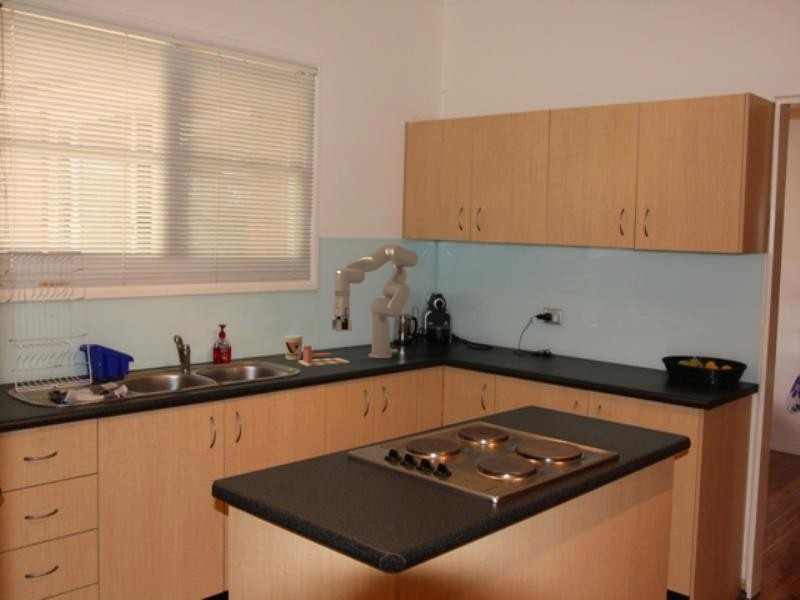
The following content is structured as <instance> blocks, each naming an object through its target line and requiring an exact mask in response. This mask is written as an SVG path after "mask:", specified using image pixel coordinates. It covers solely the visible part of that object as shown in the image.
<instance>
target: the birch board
mask: <svg viewBox="0 0 800 600" xmlns="http://www.w3.org/2000/svg"><path fill="white" fill-rule="evenodd" d="M297 363H299V364H301V365H303V366H306V367H317V366H330V365H331V364H335V365H346V364H347V363H349V364H350V361H349V360H347V359H343V358H341V357H332V358H330V357H329V358H317V359H313V358H312V363H306V362H304V361H303V359H299V360H297ZM347 365H348V364H347ZM331 366H332V365H331Z"/></svg>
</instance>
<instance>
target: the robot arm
mask: <svg viewBox="0 0 800 600" xmlns="http://www.w3.org/2000/svg"><path fill="white" fill-rule="evenodd" d="M389 262H391V267H392V271H391V275H390V277H389V278H388V280H387V282H386V283H385V285H384V286H383V289H382V296H383V297H377V298H375V299H373V300H372V301H371V304H370V310H371V317H372V318H371V319H372V321H371V323H372V326H371V327H372V328H371V331H372V332H371V353H368V357H369V358H373V359H390V358H393V354H396V353H398V349H397V348H391V347H390V345H391V344H390V342H391V341H390V340H391V339H390V337H391V322H390V319H389V318H397V317H398V316H399V315H400V314H401V312H402V311H403V309H404V307H405V306H406V304H407V302H408V300H410V299H409V298H410V296H411V288H410V286H409V284H408V283H406V281H407V278H408V274H407V270H406V268H413V267H416V266H417V265H418V263H419V255H418V254H417V253H416V251H414V250H411V249H408V248H405V247H404V246H400V245H397V244H396V245H395V244H394V245H393V244H384V245H382V246H380V247H379V248H378V249H377V250H375V251H373V252H372V253H370V254H369V255H368V256H367V255H366V256H364V257H362V258H360V259H358V260H355V261H352V262H350V263H348V264H347V265H345V266H344V267H343V268H342V269H336V270H335V272H334V301H333V315H334V317H335V319H343V322H342V330H348V322H349V320H350V317H351V314H350V313H351V312H350V311H351V310H350V309H351V308H350V307H351V306H350V305H351V304H350V296H351V295H350V293H351V292H350V291H351V286H350V285H351V284H354V285H355V284H358V285H359V284H361V283H363V282H364V280H365V279H366V275H365V273H371V272H374V271H377V270H378V269H380V268H381V267H383V266H384V265H385V264H387V263H389Z"/></svg>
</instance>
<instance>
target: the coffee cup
mask: <svg viewBox="0 0 800 600" xmlns="http://www.w3.org/2000/svg"><path fill="white" fill-rule="evenodd" d="M303 339H304V337H303V335H301V334H286V335H285V336H284V347H285V348H284V349H285V350H284V351H285V360H289V361H298V360H302V352H303V351H302V349H303V348H302V347H303Z"/></svg>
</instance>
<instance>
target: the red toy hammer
mask: <svg viewBox="0 0 800 600" xmlns="http://www.w3.org/2000/svg"><path fill="white" fill-rule="evenodd" d="M302 347H303V348H302V349H303V351H302V353H303V357H302V360H303V361H304V362H306V363H312V360H313V358H316V357H329V356H332V353H331V352H317V353H313V349H312V346H311V345H304V346H302Z"/></svg>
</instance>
